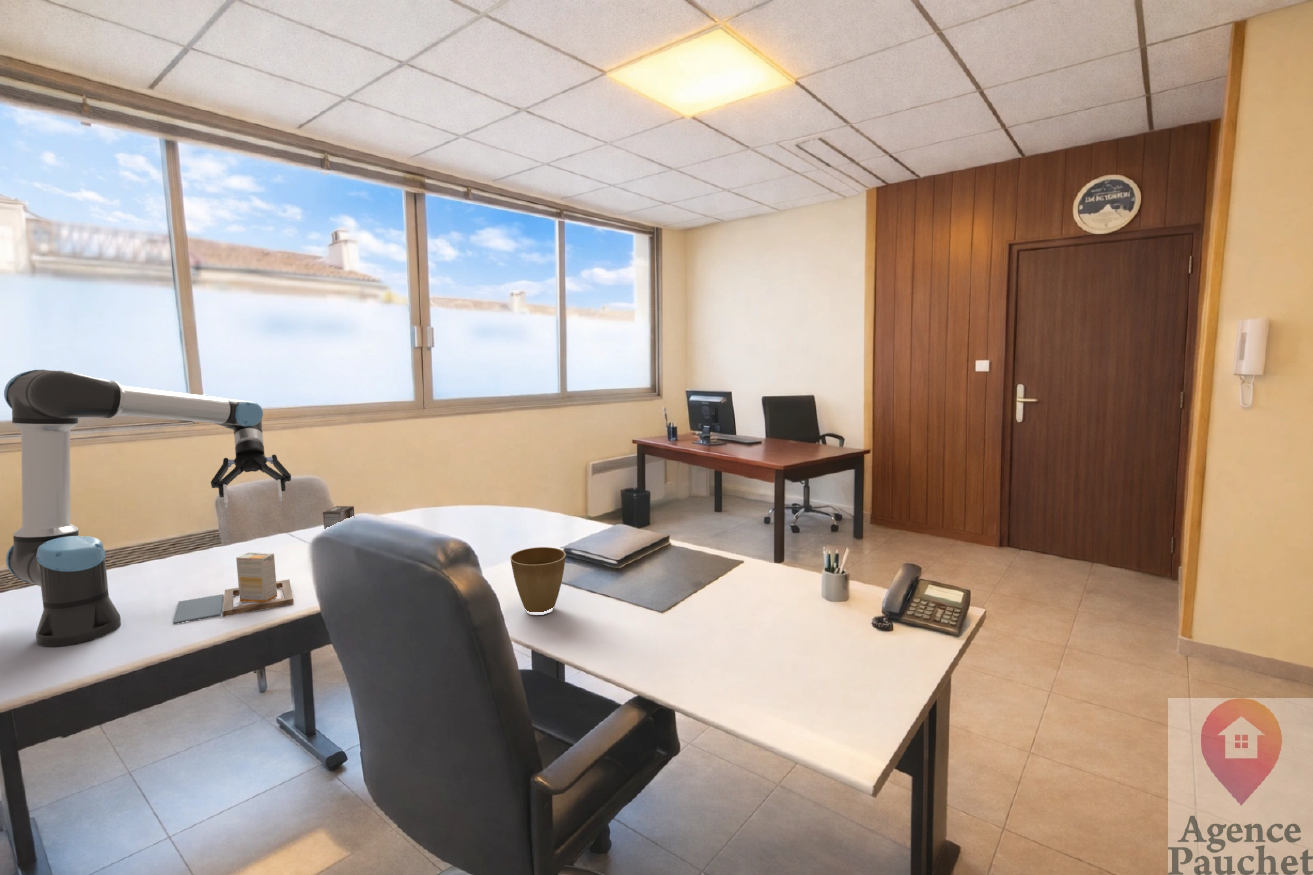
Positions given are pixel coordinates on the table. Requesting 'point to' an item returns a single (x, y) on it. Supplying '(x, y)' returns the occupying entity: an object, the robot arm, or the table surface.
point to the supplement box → (256, 577)
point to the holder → (231, 610)
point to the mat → (198, 609)
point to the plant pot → (538, 576)
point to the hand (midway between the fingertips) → (254, 502)
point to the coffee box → (337, 515)
